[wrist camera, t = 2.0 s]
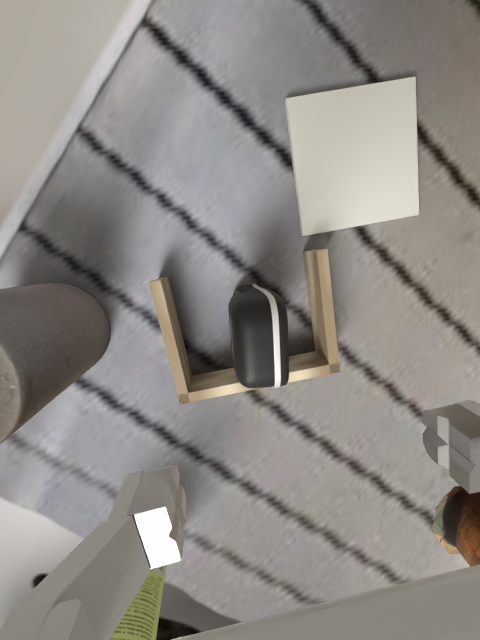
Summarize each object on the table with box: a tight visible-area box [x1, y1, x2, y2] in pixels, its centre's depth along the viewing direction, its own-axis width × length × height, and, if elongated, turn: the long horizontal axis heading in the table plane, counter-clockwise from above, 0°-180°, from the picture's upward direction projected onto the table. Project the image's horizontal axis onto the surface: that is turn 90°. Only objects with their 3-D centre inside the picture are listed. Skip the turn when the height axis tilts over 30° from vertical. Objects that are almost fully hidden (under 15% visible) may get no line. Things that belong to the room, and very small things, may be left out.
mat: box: [285, 77, 419, 237], centre depth 27 cm, size 12×12×1 cm
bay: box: [149, 249, 340, 404], centre depth 28 cm, size 16×12×4 cm
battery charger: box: [229, 284, 289, 388], centre depth 24 cm, size 7×4×11 cm, turn 4°
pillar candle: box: [0, 283, 110, 444], centre depth 21 cm, size 10×10×15 cm
